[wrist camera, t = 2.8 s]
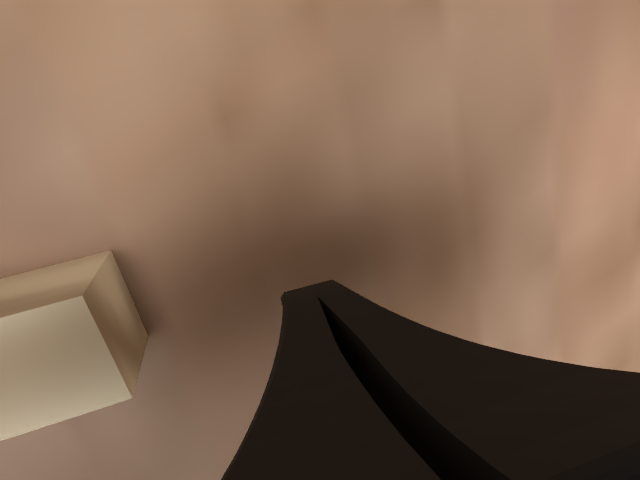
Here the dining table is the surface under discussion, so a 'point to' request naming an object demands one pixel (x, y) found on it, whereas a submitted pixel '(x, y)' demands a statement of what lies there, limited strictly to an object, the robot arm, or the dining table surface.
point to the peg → (66, 343)
